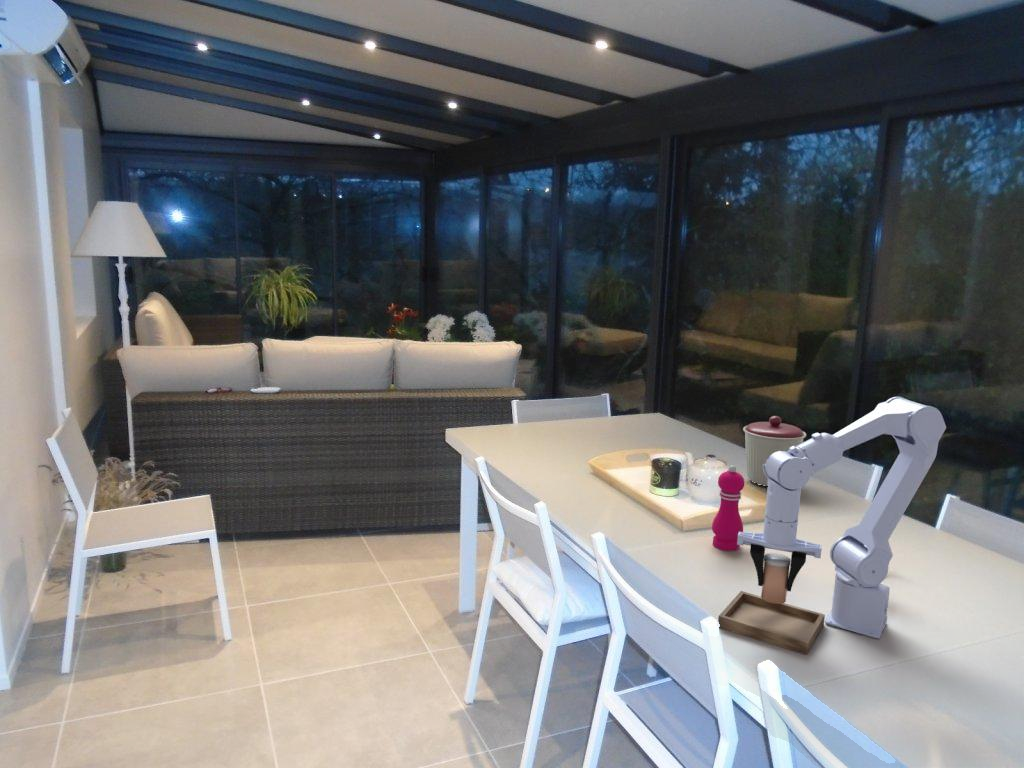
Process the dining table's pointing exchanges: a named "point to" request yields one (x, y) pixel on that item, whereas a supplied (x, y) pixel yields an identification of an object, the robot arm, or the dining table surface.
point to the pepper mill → (728, 511)
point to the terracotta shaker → (775, 578)
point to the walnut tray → (772, 622)
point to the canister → (768, 444)
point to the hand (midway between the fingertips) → (774, 586)
